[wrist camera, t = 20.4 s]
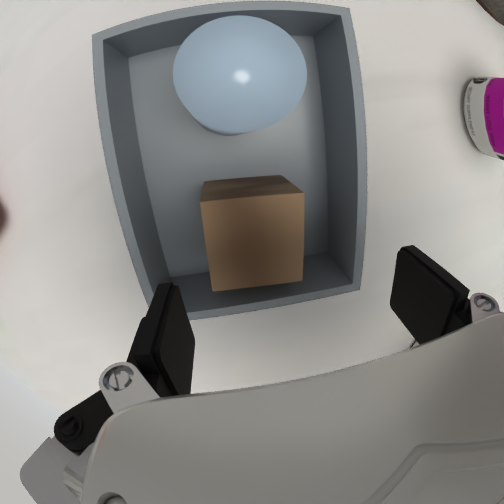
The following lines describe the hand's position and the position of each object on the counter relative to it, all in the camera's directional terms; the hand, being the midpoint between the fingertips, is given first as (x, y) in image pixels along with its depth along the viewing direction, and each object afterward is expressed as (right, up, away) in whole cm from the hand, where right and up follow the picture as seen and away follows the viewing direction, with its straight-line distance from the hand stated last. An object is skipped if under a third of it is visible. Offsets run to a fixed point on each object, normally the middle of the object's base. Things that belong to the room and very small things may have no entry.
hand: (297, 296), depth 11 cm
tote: (-3, +8, +6) cm, 10 cm away
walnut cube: (-2, +4, +8) cm, 9 cm away
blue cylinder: (-3, +11, +4) cm, 12 cm away
